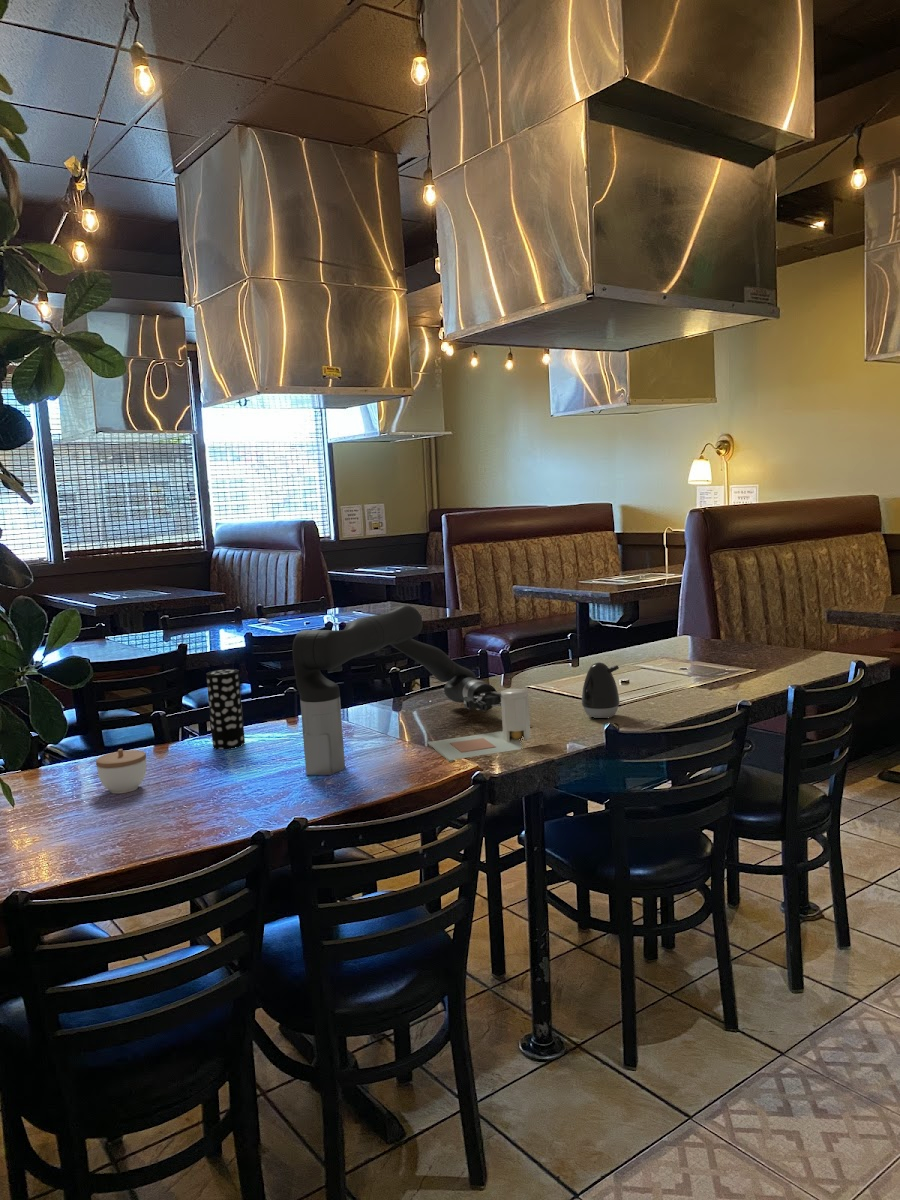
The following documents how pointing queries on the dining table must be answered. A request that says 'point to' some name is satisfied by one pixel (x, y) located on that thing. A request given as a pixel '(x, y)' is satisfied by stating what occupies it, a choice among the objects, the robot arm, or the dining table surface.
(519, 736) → the ball
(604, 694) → the pump dispenser
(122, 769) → the lidded jar
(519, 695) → the white cover with opening
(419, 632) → the robot arm
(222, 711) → the white-spotted black cylinder
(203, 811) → the dining table surface
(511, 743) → the mat
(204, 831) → the dining table surface
